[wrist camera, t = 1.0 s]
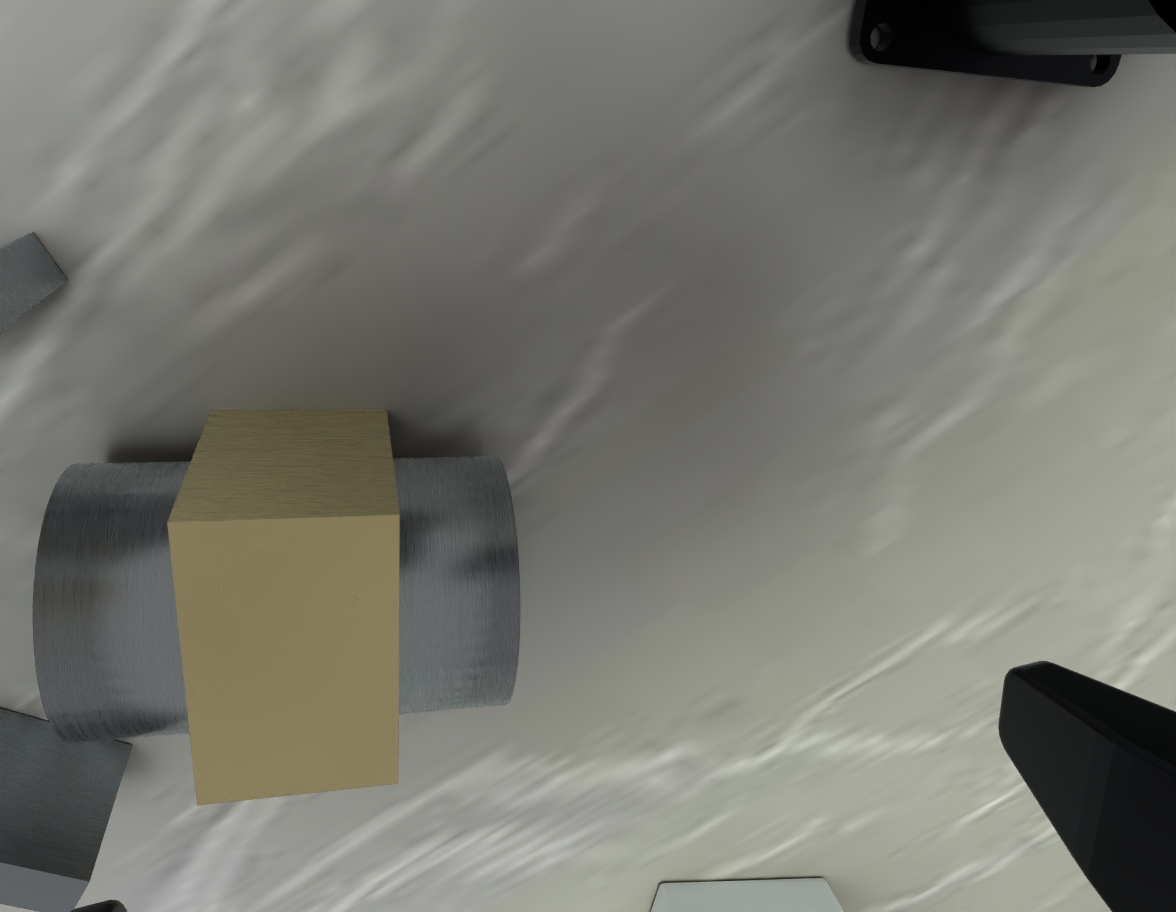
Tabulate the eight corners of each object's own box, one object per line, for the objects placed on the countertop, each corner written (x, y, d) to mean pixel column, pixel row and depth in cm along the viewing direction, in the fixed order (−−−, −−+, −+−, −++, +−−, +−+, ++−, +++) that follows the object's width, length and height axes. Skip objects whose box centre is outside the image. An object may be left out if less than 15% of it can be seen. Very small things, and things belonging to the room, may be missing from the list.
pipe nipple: (486, 408, 20) (527, 510, 16) (476, 625, 22) (511, 771, 18) (94, 409, 18) (9, 527, 14) (126, 648, 20) (63, 819, 16)
